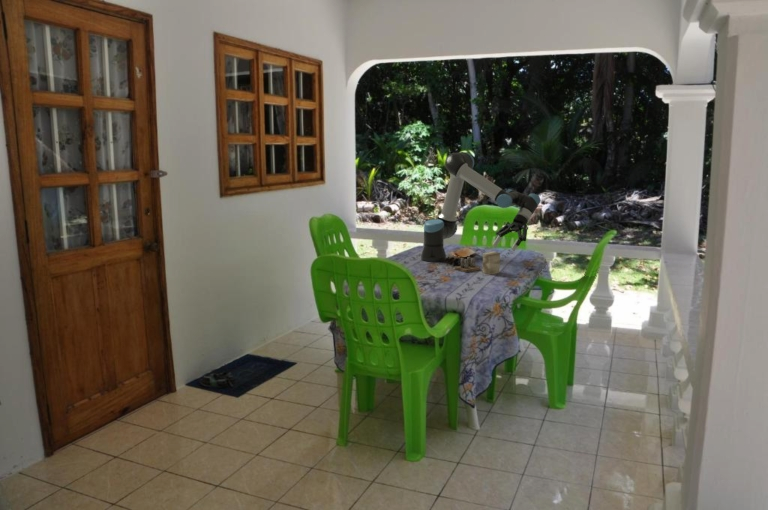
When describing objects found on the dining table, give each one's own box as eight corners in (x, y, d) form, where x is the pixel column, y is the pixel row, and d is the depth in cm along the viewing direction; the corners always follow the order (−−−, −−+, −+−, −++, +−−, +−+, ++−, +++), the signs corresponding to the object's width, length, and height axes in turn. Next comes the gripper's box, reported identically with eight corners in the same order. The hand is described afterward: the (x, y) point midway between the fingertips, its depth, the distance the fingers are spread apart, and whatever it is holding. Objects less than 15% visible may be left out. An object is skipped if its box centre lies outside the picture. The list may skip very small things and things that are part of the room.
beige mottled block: (482, 273, 340) (482, 253, 338) (492, 270, 345) (493, 251, 343) (489, 274, 337) (489, 254, 334) (499, 272, 341) (500, 252, 339)
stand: (454, 269, 348) (454, 258, 347) (468, 266, 355) (469, 255, 353) (466, 272, 341) (466, 261, 340) (480, 269, 348) (480, 258, 346)
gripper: (543, 224, 341) (524, 255, 335) (508, 219, 360) (489, 248, 354) (537, 216, 336) (517, 247, 331) (502, 211, 356) (483, 240, 350)
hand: (503, 247), depth 343 cm, fingers open, 13 cm apart
